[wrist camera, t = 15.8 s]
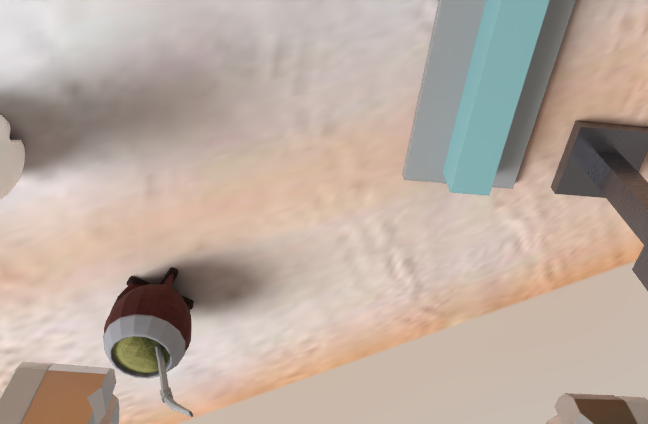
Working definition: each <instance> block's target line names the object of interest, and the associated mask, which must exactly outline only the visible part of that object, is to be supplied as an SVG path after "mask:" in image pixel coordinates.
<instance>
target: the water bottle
mask: <svg viewBox="0 0 648 424" xmlns="http://www.w3.org/2000/svg"><path fill="white" fill-rule="evenodd" d="M9 135H10V124H9V122H8V121H7V120H6V119H5V118H4V117H3V116H2V115H0V199H2V198H3V197H5V196H6V195H7V194H8V193H9V192H10V191H11V190H12V189H13V187H14V186H15V185H16V183H17V182H18V180H19V178H20V176H21V173H22V171H23V168H24V162H25V149H24V145H23V143H22V141H21V140H10V138H9Z"/></svg>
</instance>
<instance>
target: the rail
mask: <svg viewBox="0 0 648 424" xmlns="http://www.w3.org/2000/svg"><path fill="white" fill-rule="evenodd" d="M548 3H549V0H486V3H485V7H484V11H483V15H482V18H481V22H480V26H479V30H478V34H477V38H476V42H475V46H474V50H473V54H472V58H471V62H470V66H469V70H468V74H467V78H466V82H465V86H464V90H463V94H462V98H461V102H460V106H459V110H458V114H457V118H456V122H455V126H454V130H453V134H452V138H451V142H450V146H449V150H448V154H447V158H446V162H445V166H444V170H443V175H444V177H445V180H446V182H447V185H448V187H449V190H450V192H452V193H464V194H476V195H489V194H490V191H491V188H492V185H493V181H494V178H495V175H496V172H497V168H498V165H499V162H500V159H501V155H502V152H503V149H504V146H505V143H506V139H507V136H508V133H509V130H510V126H511V123H512V120H513V117H514V113H515V110H516V107H517V104H518V100H519V97H520V94H521V91H522V88H523V84H524V81H525V78H526V75H527V71H528V68H529V65H530V62H531V58H532V55H533V52H534V49H535V45H536V42H537V39H538V36H539V32H540V29H541V26H542V23H543V20H544V16H545V13H546V10H547V7H548Z"/></svg>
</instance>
